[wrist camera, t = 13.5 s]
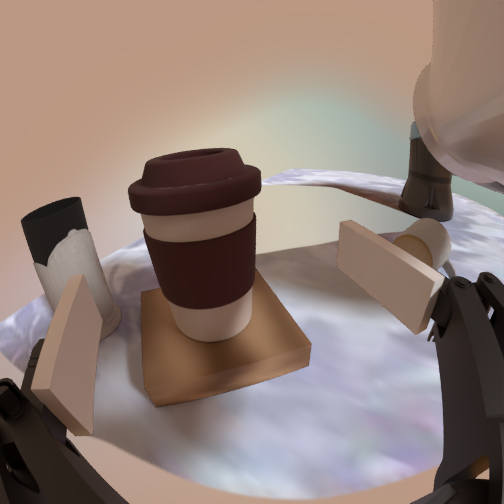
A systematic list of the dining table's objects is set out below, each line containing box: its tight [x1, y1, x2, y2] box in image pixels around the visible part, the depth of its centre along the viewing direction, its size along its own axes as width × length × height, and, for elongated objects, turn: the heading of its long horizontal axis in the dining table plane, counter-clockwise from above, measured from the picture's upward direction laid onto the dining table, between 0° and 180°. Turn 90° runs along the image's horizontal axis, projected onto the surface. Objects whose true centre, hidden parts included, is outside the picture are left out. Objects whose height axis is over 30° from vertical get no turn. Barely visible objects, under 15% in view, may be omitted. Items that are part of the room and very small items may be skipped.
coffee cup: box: [128, 148, 261, 342], centre depth 22 cm, size 10×10×15 cm
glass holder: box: [21, 197, 122, 341], centre depth 27 cm, size 9×14×15 cm, turn 69°
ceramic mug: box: [392, 218, 457, 279], centre depth 32 cm, size 11×8×8 cm
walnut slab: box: [141, 268, 311, 407], centre depth 26 cm, size 14×14×3 cm
